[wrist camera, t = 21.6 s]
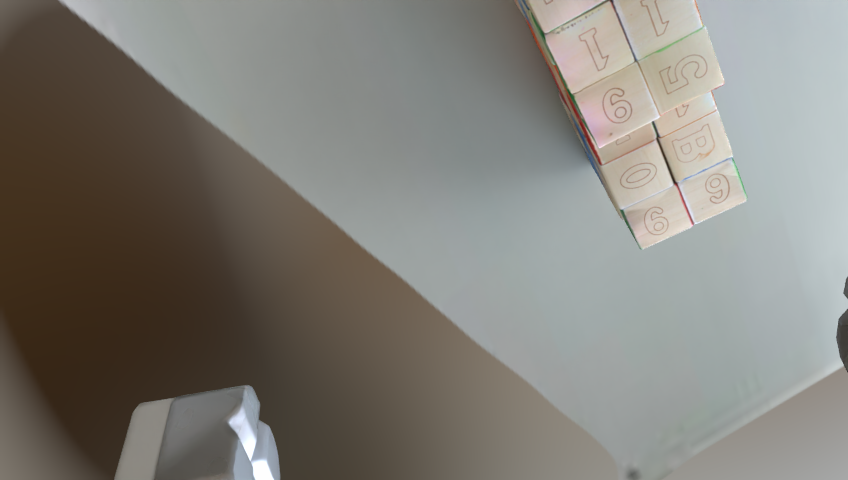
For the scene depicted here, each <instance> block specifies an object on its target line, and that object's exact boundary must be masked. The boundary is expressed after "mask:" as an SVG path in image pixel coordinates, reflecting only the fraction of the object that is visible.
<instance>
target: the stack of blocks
mask: <svg viewBox="0 0 848 480" xmlns="http://www.w3.org/2000/svg"><path fill="white" fill-rule="evenodd" d="M514 1H515V3H516V4H517V6H518V7H519V9H520V11H521V12H522V14H523V15H524V17H525V19H526V21H527V24H528V26H529V28H530V30H531V32H532V34H533V37H534V39H535V41H536V43H537V46H538V48H539V49H540V51H541V53H542V55H543V57H544V58H545V61H546V63H547V65H548V67H549V69H550V71H551V74H552V76H553V78H554V80H555V82H556V85H557V87H558V89H559V93H558V94H559V97H560V99H561V101H562V104H563V106H564V108H565V110H566V112H567V115H568V117H569V119H570V121H571V123H572V126H573V128H574V130H575V132H576V134H577V136H578V138H579V139H580V141H581V143H582V145H583V147H584V150H585V152H586V154H587V156H588V158H589V160H590V162H591V165H592V167H593V169H594V170H595V172H596V174H597V175H598V177H599V179H600V181H601V183H602V185H603V186H604V188H605V190H606V192H607V194H608V196H609V198H610V200H611V202H612V203H613V205H614V207H615V209H616V211H617V212H618V214H619V216H620V218H621V219H622V220H625V222H626V224H627V226H628V228H629V229H630V231H631V233H632V235H633V237H634V239H635V241H636V242H637V244H638V246H639V248H640V249H641V250H642V249H645V248H647V247H649V246H651V245H654V244H656V243H658V242H660V241H662V240H664V239H667V238H669V237H671V236H673V235H676V234H678V233H680V232H682V231H685V230H687V229H689V228H691V227H692V226H693V225H694V224H697V223H700V222H702V221H704V220H706V219H709V218H711V217H713V216H715V215H717V214H720V213H722V212H724V211H726V210H728V209H731V208H733V207H735V206H737V205H739V204H741V203H743V202H745V201H747V195H746V192H745V189H744V186H743V184H742V181H741V178H740V175H739V172H738V169H737V167H736V164H735V162H734V160H733V158H732V156H733V153H732V149H731V147H730V144H729V141H728V138H727V135H726V132H725V129H724V127H723V124H722V121H721V118H720V115H719V112H718V110H717V106H716V102H715V100H714V96H713V93H712V90H714V89H716V88H719V87H720V86H722V85H724V83H725V81H724V78H723V75H722V72H721V70H720V67H719V64H718V61H717V58H716V55H715V52H714V49H713V46H712V43H711V40H710V37H709V34H708V31H707V28H706V27H705V26H704V25H703V23H702V20H701V16H700V13H699V10H698V7H697V4H696V1H695V0H514Z"/></svg>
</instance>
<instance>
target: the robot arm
mask: <svg viewBox="0 0 848 480" xmlns="http://www.w3.org/2000/svg"><path fill="white" fill-rule="evenodd" d="M843 294H844V295H845V296H846V297H847V299H848V277H847V279H846V283H845V288H844V293H843ZM836 338H837V343H838V348H839V353H840V357H841V360H842V362H843V364H844V366H845V368H846V370H847V372H848V309H847V310H846V311H845V313H844V314H843V315H842V316H841V317H840V318H839V321H838V329H837V336H836ZM259 409H260V403H259V401H258V398H257V396H256V394H255V392H254V390H253V388H252V387H251V386H248V385H244V386H239V387H233V388H226V389H220V390H214V391H208V392H202V393H196V394H190V395H184V396H178V397H176V398H171V399H165V400H159V401H152V402H146V403H140V404H139V405H138V407H137V408H136V410H135V411H134V412H133V414H132V417H131V421H130V425H129V428H128V432H127V436H126V439H125V443H124V446H123V450H122V453H121V457H120V461H119V464H118V468H117V471H116V475H115V478H114V480H280V470H279V460H278V452H277V448H276V444H275V440H274V437H273V435H272V432H271V430H270V427H269V426H268V425H266V424H265V423H263V422H261V421H259Z"/></svg>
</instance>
